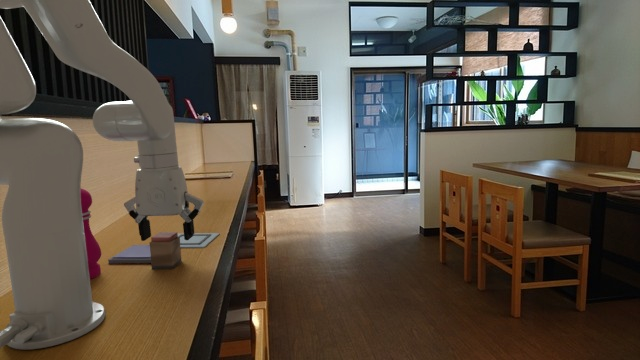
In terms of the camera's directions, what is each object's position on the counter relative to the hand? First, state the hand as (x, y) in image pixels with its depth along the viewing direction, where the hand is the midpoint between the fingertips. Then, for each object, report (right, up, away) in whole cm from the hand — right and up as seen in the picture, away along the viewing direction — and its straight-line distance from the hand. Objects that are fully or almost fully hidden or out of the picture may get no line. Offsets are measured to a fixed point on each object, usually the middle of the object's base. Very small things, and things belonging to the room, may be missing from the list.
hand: (167, 238), depth 83 cm
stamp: (0, -6, 0) cm, 6 cm away
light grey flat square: (-1, -3, +18) cm, 18 cm away
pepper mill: (-15, -7, -5) cm, 18 cm away
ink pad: (-9, -5, +6) cm, 12 cm away
